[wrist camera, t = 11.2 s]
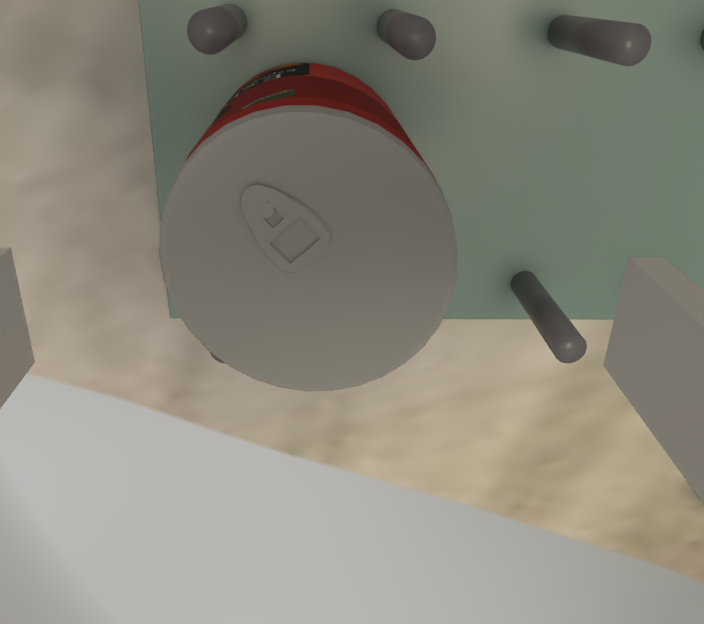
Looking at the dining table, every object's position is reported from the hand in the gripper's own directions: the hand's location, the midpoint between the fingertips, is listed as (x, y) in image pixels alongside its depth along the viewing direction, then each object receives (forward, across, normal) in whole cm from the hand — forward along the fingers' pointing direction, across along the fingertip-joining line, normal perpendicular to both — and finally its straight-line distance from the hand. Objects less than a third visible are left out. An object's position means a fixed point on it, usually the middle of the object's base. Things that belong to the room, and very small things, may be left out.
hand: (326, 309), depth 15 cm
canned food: (+14, 0, 0) cm, 14 cm away
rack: (+15, +6, 0) cm, 16 cm away
